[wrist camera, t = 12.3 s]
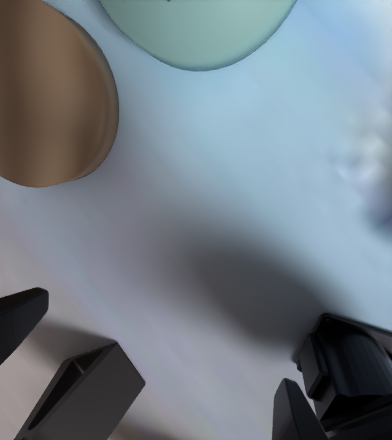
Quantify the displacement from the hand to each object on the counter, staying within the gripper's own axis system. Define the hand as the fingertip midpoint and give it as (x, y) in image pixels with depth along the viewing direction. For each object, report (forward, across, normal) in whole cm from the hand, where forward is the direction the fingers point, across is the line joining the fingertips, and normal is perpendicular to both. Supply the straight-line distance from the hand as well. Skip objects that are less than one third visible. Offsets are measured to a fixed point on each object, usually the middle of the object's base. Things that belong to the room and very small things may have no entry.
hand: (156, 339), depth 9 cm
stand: (+13, +16, -6) cm, 22 cm away
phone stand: (+13, +8, +22) cm, 27 cm away
